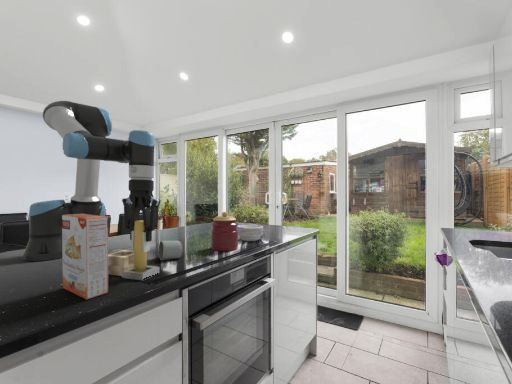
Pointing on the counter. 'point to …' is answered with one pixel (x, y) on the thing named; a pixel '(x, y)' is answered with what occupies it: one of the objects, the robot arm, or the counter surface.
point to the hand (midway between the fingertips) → (140, 250)
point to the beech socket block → (120, 262)
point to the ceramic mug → (170, 250)
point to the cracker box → (85, 254)
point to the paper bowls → (250, 232)
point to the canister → (224, 233)
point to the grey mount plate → (140, 273)
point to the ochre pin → (139, 248)
